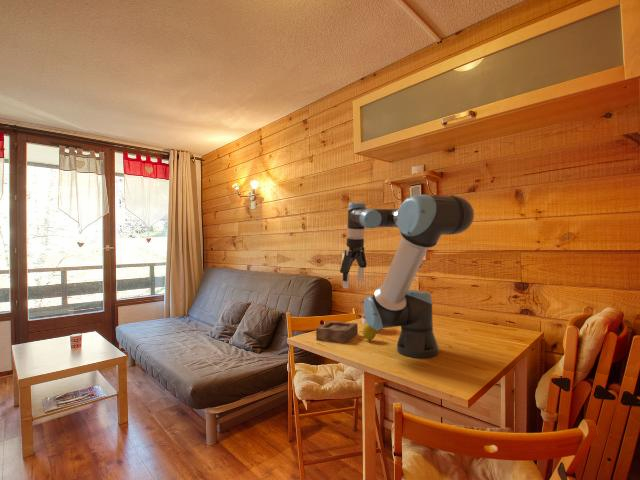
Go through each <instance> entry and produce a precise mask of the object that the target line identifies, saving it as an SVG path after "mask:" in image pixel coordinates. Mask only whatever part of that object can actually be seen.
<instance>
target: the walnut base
mask: <svg viewBox="0 0 640 480" xmlns="http://www.w3.org/2000/svg"><path fill="white" fill-rule="evenodd" d="M358 335H359V333H358V323H355V322H344V321H336V320H335V321H334V320H333V321H332V320H329V321H327V322H325V323H323V324H321V325H320V326H317V327H315V336H316V337H315V339H316V341H322V342H331V343H339V344H347V343H349V342H350V341H352V340H353V339H354V338H356V337H357V336H358Z"/></svg>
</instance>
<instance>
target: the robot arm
mask: <svg viewBox="0 0 640 480" xmlns="http://www.w3.org/2000/svg"><path fill="white" fill-rule="evenodd" d="M474 218H475V213H474V209H473V206H472V204H471V202H469V201H468V200H467V199H466V198H463V197H461V196H457V195H433V194H432V195H430V194H422V193H421V194H418V195H417V194H416V195H411V196H408V197H407V198H406V199H404V201H403V202H402V203H401V204H400V206H399V208H367V205H366V204H365V202H355V201H354V202H349V203H348V208H347V228H346V236H347V238H346V247H348V250H346V249H345V251H344V256H343V260H342V263H341V266H340V269H339V272H340V274H342V288H343V289H348V290H349V288H350V270H351V267H352V265H353V262H354V261H356V262H357V265H358V267H357V276H356V277H357V279H356V281H358V282H360V283H363V282H364V273H365V269H366V268H367V260H366V254H365V246H364V245H365V244H364V243H365V239H364V238H365V230H366V229H376V228H398V230H399V235H400V236H401V238H400V242H399V244H398V247H397V248H396V251H395V253H394V256H393V258H392V261H391V264H390V265H389V268H388V270H387V273H386V276H385V278H384V279H383V282H382V285H380V286H378V287H377V288H376V289H375V290H374V293H373V294H372V296H366V297H365V298H364V300H363V308H362V309H363V313H364V315H365V318H366V321H367V323H368V324H369V326H370V327H372V328H374V329H380V330H382V329H387V328H389V329H390V328H397V327H400V334H399V336H398V341H397V344H396V351H397V352H398V353H399V354H400V355H403V356H406V357H410V358H416V359H417V358H419V359H421V358H422V359H423V358H427V359H428V358H433V357H436V356H438V355H439V346H438V342H437V340H436V339H437V338H436V337H435V334H434V325H433V299H432V294H430V293H429V292H427V291H422V290H415V289H410V288H411V285H412V283H413V281H414V279H415V277H416V274H417V273H418V270H419V268H420V266H421V264H423V263H422V262H423V261H424V258H425V256H426V255H427V252H428V250H429V249H430V248H434V247H435V246H437V243H438V242H439V240H440V237H441V236H446V235H457V234H461V233H463V232H465V231H467V230H468V229H469V228H470V226H471V225H472V224H473V222H474ZM365 228H366V229H365Z"/></svg>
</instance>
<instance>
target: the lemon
mask: <svg viewBox="0 0 640 480" xmlns="http://www.w3.org/2000/svg"><path fill="white" fill-rule="evenodd" d="M376 333H377V332H376V329H374V328H372V327H370V326H369V324H368V323H367V324H365V325H364V326H363V327H362V335H363V337H364V338H365V339H366V340H367V341H369V342H371V341H372V340H374V339H375V337H376Z"/></svg>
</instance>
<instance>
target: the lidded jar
mask: <svg viewBox="0 0 640 480" xmlns="http://www.w3.org/2000/svg"><path fill="white" fill-rule="evenodd" d="M360 314H361V323H362V326H363V327H364V325H365V324H367V321H366V318H365V315H364V312H363V313H360ZM380 330H381V329H376V333H378V332H380Z"/></svg>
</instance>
